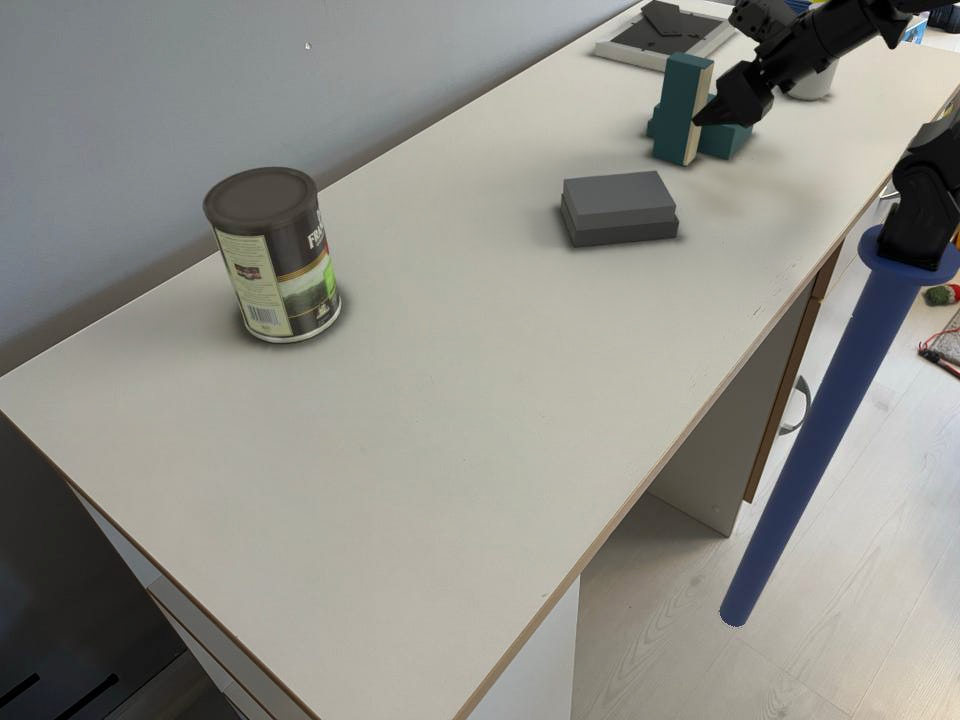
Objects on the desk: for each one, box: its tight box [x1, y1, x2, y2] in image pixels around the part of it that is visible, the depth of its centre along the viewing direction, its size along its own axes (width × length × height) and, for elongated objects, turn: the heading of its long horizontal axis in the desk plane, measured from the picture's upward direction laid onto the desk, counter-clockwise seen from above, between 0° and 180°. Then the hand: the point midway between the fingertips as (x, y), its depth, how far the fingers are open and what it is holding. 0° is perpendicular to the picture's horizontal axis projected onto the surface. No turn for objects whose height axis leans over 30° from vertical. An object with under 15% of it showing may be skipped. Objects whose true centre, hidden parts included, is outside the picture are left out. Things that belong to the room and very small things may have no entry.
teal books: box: [645, 93, 755, 160], centre depth 98 cm, size 12×8×4 cm
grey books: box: [560, 170, 680, 248], centre depth 83 cm, size 12×8×4 cm, turn 97°
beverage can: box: [787, 1, 841, 101], centre depth 103 cm, size 6×6×12 cm
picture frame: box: [594, 0, 736, 73], centre depth 121 cm, size 16×3×21 cm
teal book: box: [651, 51, 716, 167], centre depth 91 cm, size 5×3×13 cm, turn 52°
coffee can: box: [202, 166, 342, 344], centre depth 70 cm, size 10×10×14 cm
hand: (709, 107), depth 88 cm, fingers open, 9 cm apart
